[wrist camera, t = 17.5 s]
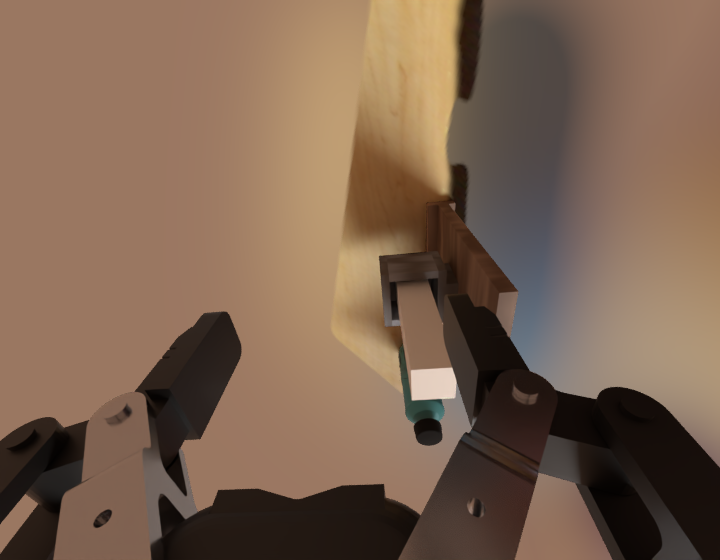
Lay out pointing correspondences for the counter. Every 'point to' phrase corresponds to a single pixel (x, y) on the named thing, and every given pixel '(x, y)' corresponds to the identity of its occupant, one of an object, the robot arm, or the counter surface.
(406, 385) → the beverage bottle
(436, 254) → the cup bracket
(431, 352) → the beige tall block
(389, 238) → the counter surface
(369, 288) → the counter surface
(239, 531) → the robot arm
